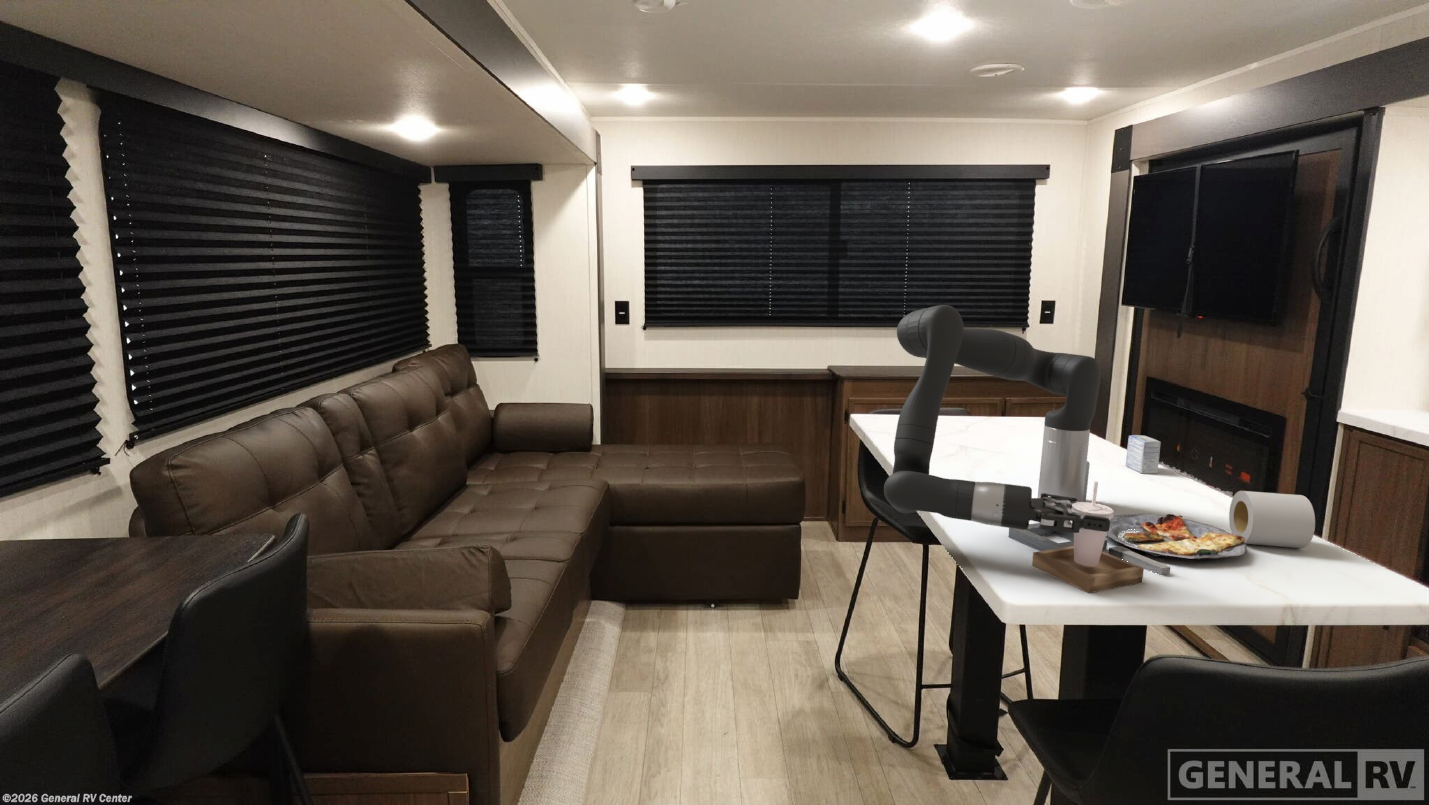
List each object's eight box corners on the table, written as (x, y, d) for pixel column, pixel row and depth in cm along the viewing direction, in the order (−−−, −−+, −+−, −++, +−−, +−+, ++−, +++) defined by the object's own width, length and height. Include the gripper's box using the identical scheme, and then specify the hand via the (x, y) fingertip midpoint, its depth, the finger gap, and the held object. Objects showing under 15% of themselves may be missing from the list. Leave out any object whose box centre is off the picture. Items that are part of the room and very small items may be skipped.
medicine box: (1157, 474, 197) (1161, 441, 195) (1140, 474, 197) (1144, 441, 195) (1141, 466, 204) (1145, 435, 203) (1124, 466, 205) (1128, 434, 203)
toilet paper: (1283, 538, 150) (1291, 489, 148) (1310, 556, 140) (1318, 503, 138) (1226, 533, 152) (1233, 484, 150) (1248, 550, 142) (1256, 499, 141)
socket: (1055, 530, 152) (1056, 520, 151) (1106, 550, 141) (1107, 540, 140) (1008, 537, 147) (1009, 527, 147) (1057, 558, 136) (1058, 548, 136)
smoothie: (1109, 560, 130) (1119, 481, 128) (1105, 572, 125) (1115, 490, 122) (1068, 552, 134) (1077, 475, 131) (1062, 563, 128) (1072, 483, 126)
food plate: (1179, 520, 159) (1180, 504, 158) (1278, 563, 136) (1280, 544, 136) (1070, 528, 155) (1072, 511, 154) (1154, 574, 132) (1156, 555, 132)
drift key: (1108, 555, 139) (1109, 547, 139) (1119, 553, 140) (1120, 546, 140) (1159, 577, 129) (1160, 568, 129) (1171, 575, 130) (1172, 566, 130)
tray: (1082, 557, 137) (1084, 544, 137) (1142, 582, 126) (1143, 568, 126) (1031, 566, 133) (1033, 552, 132) (1088, 592, 122) (1090, 578, 121)
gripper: (1001, 495, 126) (1114, 509, 120) (1004, 474, 139) (1106, 486, 133) (997, 538, 127) (1109, 554, 121) (1000, 513, 140) (1101, 527, 134)
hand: (1107, 519), depth 127 cm, fingers closed on smoothie, 6 cm apart
